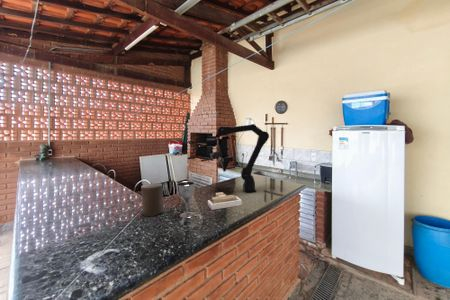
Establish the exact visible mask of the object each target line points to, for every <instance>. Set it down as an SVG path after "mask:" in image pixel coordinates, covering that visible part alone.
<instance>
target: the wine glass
mask: <svg viewBox="0 0 450 300" xmlns="http://www.w3.org/2000/svg"><path fill="white" fill-rule="evenodd" d="M195 185H196V183H195V182H194V181H192V180H191V181H190V180H189V181H187V180H186V181H180V182H178V183H176V189H177V194H178V196H179V198H180V199H181V200H182V201H183V202H184V204H185V208H186V211H185V212H183V213H180V215H179V217H180V218H181V219H191V218H194V217H196V213H195V212H192V211H189V203H190V201H191V200H192V198H193V196H194V194H195Z"/></svg>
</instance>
